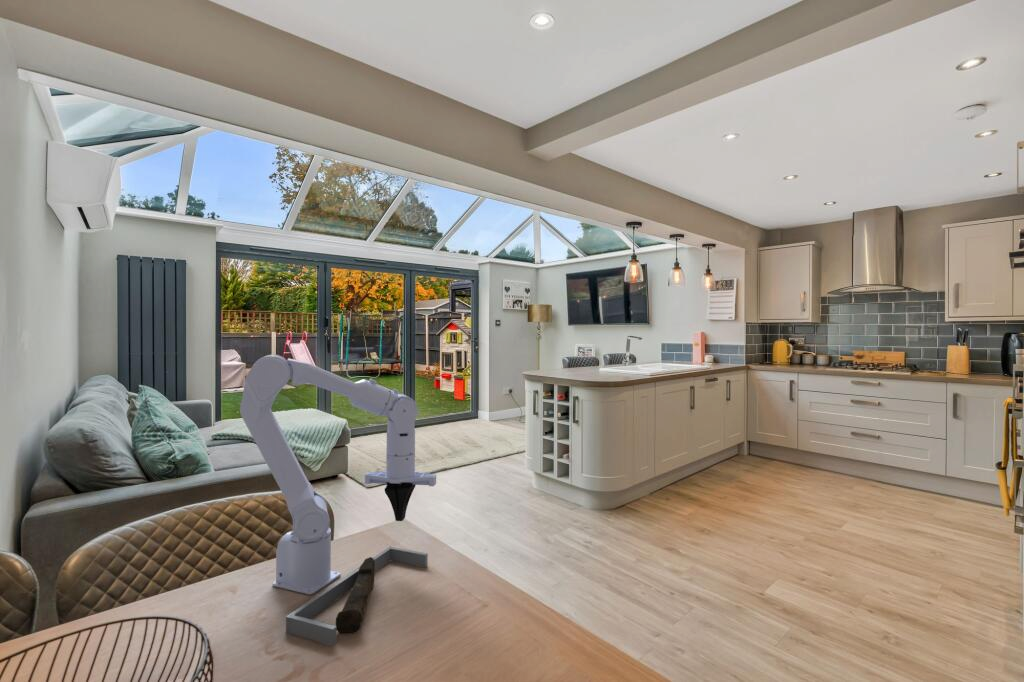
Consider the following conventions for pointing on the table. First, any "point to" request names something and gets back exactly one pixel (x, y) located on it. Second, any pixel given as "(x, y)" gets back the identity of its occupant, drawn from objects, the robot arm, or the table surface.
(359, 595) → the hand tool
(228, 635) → the table surface
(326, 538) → the robot arm
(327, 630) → the u-shaped bracket
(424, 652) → the table surface
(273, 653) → the table surface
